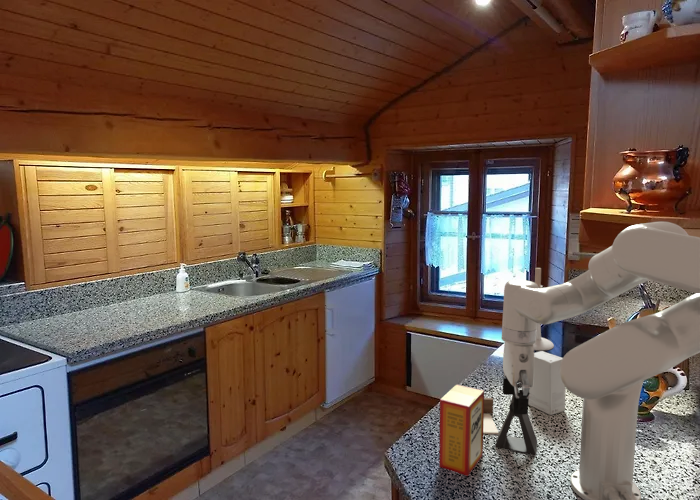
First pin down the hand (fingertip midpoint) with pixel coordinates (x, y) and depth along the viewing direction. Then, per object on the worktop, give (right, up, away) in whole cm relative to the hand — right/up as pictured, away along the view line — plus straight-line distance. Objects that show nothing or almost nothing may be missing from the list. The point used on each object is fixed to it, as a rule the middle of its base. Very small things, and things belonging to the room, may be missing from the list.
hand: (514, 403), depth 116 cm
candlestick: (+32, 0, +71) cm, 78 cm away
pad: (-5, -9, +11) cm, 15 cm away
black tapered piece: (+1, -10, +1) cm, 10 cm away
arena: (-5, -9, +11) cm, 15 cm away
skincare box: (+15, -7, +20) cm, 26 cm away
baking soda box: (-14, -11, -5) cm, 19 cm away
